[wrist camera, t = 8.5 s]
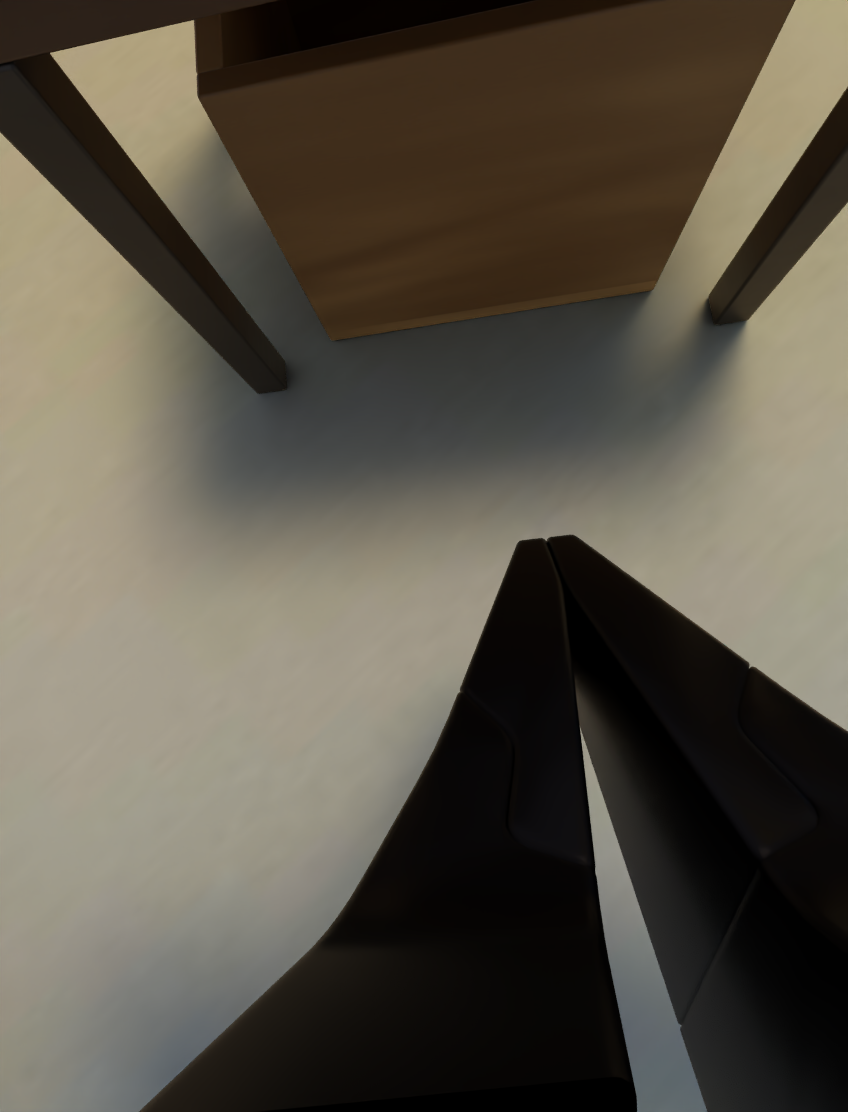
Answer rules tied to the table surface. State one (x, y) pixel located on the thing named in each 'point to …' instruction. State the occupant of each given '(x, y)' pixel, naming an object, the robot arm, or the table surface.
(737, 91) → the wooden box
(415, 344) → the table surface
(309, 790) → the table surface
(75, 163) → the desk shelf
